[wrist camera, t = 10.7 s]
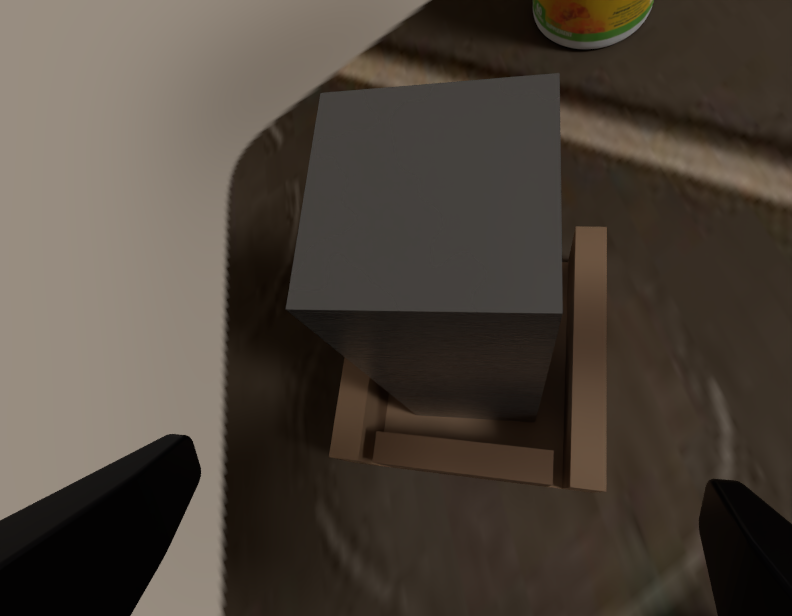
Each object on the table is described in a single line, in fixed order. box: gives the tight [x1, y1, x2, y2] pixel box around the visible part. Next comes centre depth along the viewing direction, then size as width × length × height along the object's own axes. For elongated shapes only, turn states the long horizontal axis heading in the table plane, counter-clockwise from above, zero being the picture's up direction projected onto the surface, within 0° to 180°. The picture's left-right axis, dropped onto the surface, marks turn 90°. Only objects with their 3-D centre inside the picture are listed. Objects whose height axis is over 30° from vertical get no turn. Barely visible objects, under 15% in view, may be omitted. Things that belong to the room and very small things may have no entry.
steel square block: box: [286, 73, 563, 422], centre depth 15 cm, size 4×4×12 cm
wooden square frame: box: [329, 227, 607, 493], centre depth 19 cm, size 9×9×4 cm
